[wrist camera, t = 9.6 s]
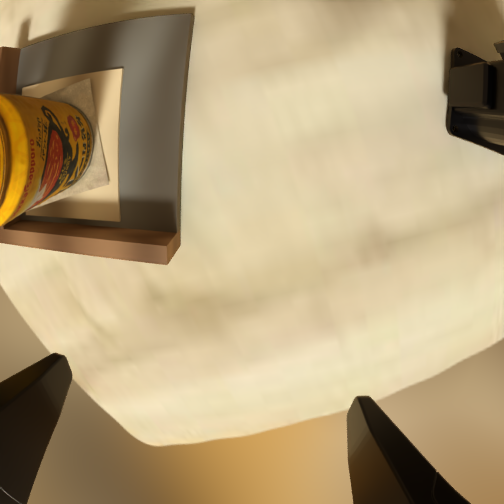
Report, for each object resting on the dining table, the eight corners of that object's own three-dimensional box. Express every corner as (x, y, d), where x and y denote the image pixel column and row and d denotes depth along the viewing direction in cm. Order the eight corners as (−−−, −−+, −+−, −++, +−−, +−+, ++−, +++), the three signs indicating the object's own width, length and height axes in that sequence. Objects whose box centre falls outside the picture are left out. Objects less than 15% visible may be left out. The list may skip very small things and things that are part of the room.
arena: (194, 17, 14) (181, 1, 12) (180, 245, 20) (167, 264, 18) (17, 53, 15) (-7, 50, 12) (19, 229, 21) (-3, 242, 18)
